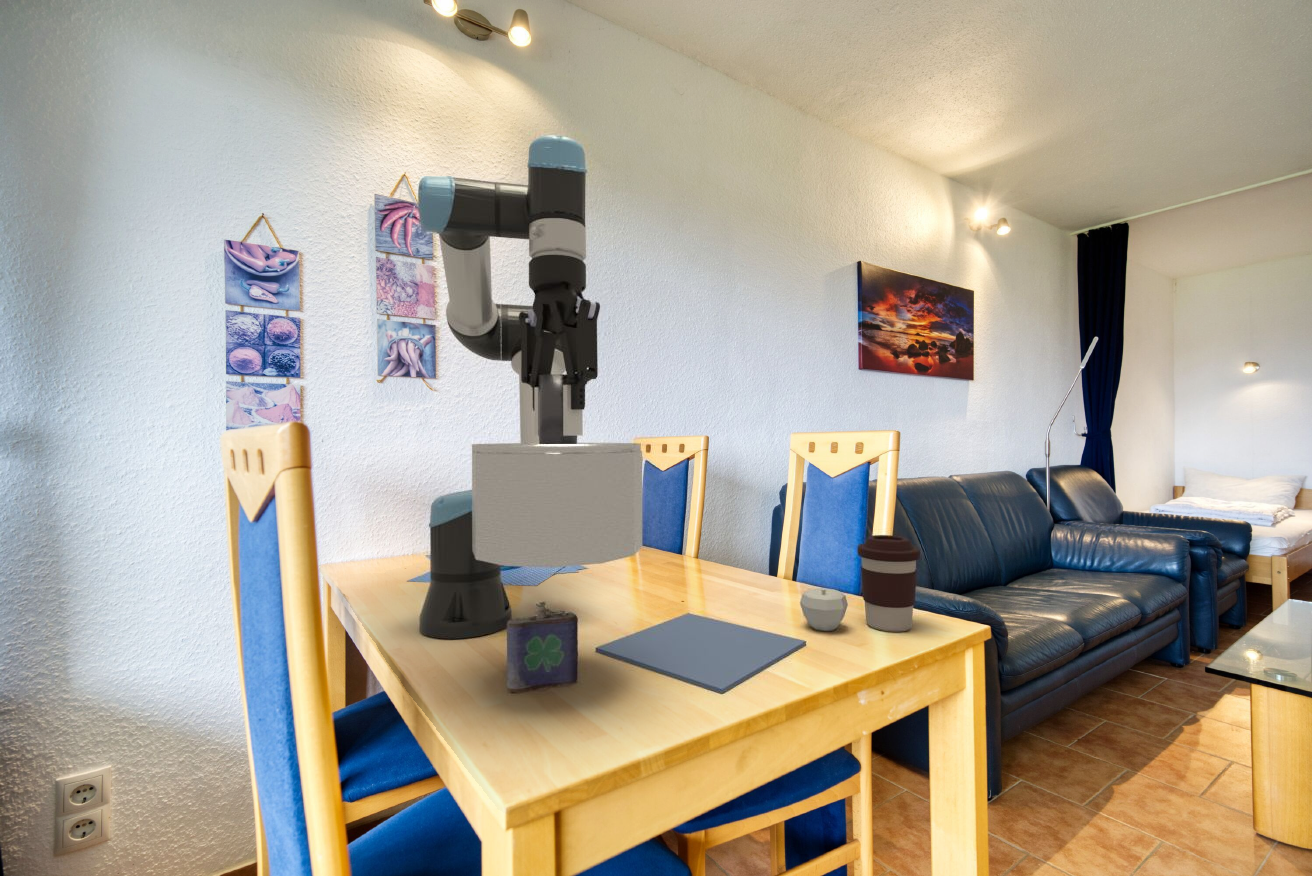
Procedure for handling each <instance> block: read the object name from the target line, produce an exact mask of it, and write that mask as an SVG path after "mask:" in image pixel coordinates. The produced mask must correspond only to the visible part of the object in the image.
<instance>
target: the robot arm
mask: <svg viewBox="0 0 1312 876" xmlns="http://www.w3.org/2000/svg"><path fill="white" fill-rule="evenodd" d="M585 154H586V153H585V150H584V148H583V146H582V145H581V144H580V143H579V142H578V141H577V140H575V139H573V138H570V137H567V136H564V135H563V136H562V135H556V134H555V135H554V134H551V135H550V134H549V135H544V136H539V137H537V138H536V139H534V140H533V141H532V142H531V143H530V145H529V147H528V162H527V168H528V169H527V170H528V171H527V172H528V174H527V175H528V176H527V177H528V179H527V180H528V181H527V184H519V183H508V182H507V183H506V182H498V181H488V180H480V179H470V178H460V177H454V176H449V175H448V176H431V175H430V176H429V175H428V176H424V177H422V178H421V179H420V180H419V183H418V189H417V201H418V202H417V203H418V208H417V209H418V217H419V222H420V226H421V227H422V228H423V230H425V231H427V232H430V233H435V234H437V235H438V238H439V244H440V249H441V257H442V263H443V269H444V274H445V275H444V276H445V280H446V287H447V293H448V302H447V305H446V308H445V315H446V322H447V325H448V328H449V329H450V331H451V333H452V335H453V336H454V337H455V339H457V341H458V342H459V343H460V344H461V345H462V346H463V347H464V348H466V349H467V350H468V351H470V352H472V353H473V354H474V355H477V356H479V357H481V358H484V359H487V360H490V361H497V362H498V361H501V362H510V364H511V365H510V366H511V368H512V370H513V371H514V372H515V373H516V374H517V375H519V376H518V377H519V378H518V379H519V381H518V384H519V387H518V388H519V428H520V429H519V434H520V443H539V375H546V374H564V373H566V375H567V379H565V380H563V381H564V383H566V384H571V385H563V436H577V437H578V436H581V437H582V436H584V435H583V430H584V429H583V418H584V417H583V410H585V407H586V385H587V384H588V382H590V381H592V380H596V379H597V377H599V376H598V374H599V371H598V369H599V368H598V367H599V366H598V360H599V359H598V317H599V314H600V311H601V304H600V302H598V301H594V300H590V299H585V297H584V296H583V292H584V291H585V290H586V288H587V264H586V263H585V262H584V261H585V259H586V258H587V237H586V233H587V231H586V229H587V227H586V179H587V178H586V177H587V175H586V174H587V172H588V170H587V169H586V155H585ZM491 237H493V238H505V239H518V240H528V255H529V257H530V258H531V259H530V261H529V262H528V286H529V289H531V290H532V291H533V294H534V299H533V303H532V305H523V304H504V303H495V301H494V300H493V295H492V294H493V293H492V292H493V290H492V289H493V288H492V287H493V286H492V266H491V265H492V264H491ZM429 519H430V520H429V523H428V528H429V531H430V533H429V536H430V537H429V538H430V548H429V549H430V557H429V558H430V563H429V565H430V578H429V580H430V581H429V582H430V583H429V587H428V589H427V593H426V596H425V598H424V601H423V605H422V608H421V612H420V614H419V618H418V619H419V621H418V622H419V632H420V633H421V634H422V635H425V636H427V637H431V638H437V639H447V640H449V639H452V640H453V639H467V638H474V637H475V638H476V637H480V636H481V637H482V636H485V635H489V634H493V633H496V632H498V631H501V630H503V629H505V628H507V622H508V621H509V620H512V607H511V603H510V601H509V598H508V595H507V592H506V589H505V586H504V583H503V581H502V568H501V567H502V565H499V564H494V563H489V562H485V561H480V560H476V559H475V556H474V554H473V551H472V489H469V490H468V489H467V490H461V491H457V492H452V493H448V494H444V495H440V496H438V497H436V498H434V500H433V502H432V503H431V505H430V518H429Z"/></svg>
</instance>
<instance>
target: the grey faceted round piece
mask: <svg viewBox="0 0 1312 876" xmlns="http://www.w3.org/2000/svg"><path fill="white" fill-rule="evenodd" d="M799 605H800V608H801V611H802V615H803V616H804V618H805V620H806V621H807V623H808V624H809V626H811V628H813V629H815V630H817V631H823V632H830V631H835V629H837V628H838V627H839V625H840V624H841V622H842V621H843V619H844V617H845V614H846V612H847V610H848V609H847V608H848V605H849V604H848V601H847V596H846V594H845V593H843V592H841V591H839V590H837V589H832V588H825V587H816V588H808V589H806V590H804V592H803V593H802V594H801V598H800V601H799Z"/></svg>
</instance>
